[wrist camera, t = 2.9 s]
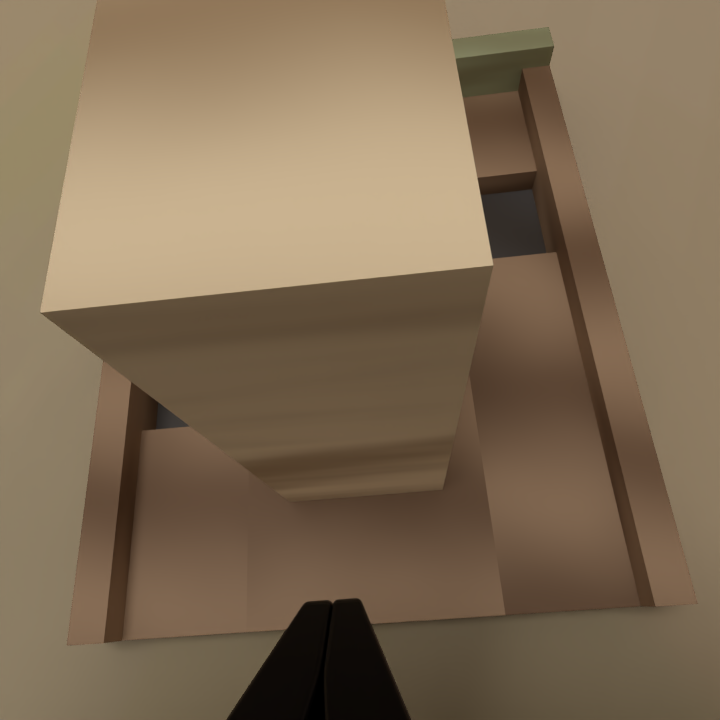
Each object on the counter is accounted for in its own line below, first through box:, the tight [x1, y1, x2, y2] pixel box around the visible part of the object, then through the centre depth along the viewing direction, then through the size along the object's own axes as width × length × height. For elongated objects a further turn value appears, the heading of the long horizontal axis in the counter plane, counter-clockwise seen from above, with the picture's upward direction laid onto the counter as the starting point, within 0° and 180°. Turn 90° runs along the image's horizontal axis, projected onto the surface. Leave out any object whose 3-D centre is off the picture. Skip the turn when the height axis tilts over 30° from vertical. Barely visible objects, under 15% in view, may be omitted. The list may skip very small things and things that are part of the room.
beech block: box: [40, 0, 493, 502], centre depth 12 cm, size 6×4×12 cm
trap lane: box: [67, 27, 698, 645], centre depth 19 cm, size 20×16×3 cm
